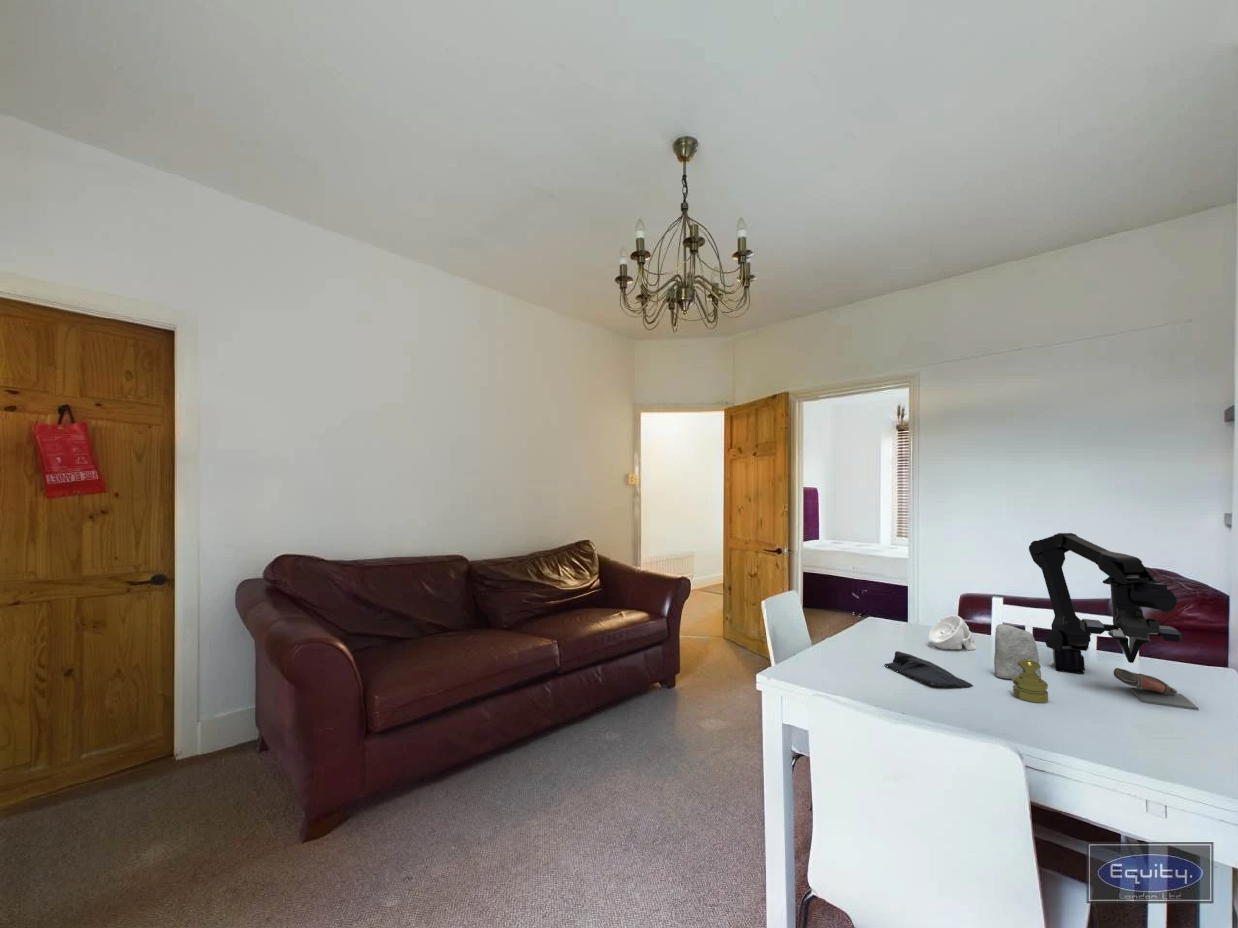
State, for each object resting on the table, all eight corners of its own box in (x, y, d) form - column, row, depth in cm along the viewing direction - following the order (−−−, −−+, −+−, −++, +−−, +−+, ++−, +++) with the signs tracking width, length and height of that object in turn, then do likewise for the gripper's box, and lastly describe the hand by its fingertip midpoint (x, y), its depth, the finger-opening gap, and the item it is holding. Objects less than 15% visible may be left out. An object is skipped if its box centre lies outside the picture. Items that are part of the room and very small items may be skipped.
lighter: (1115, 665, 143) (1154, 675, 142) (1112, 676, 143) (1151, 686, 142) (1140, 677, 135) (1182, 687, 134) (1136, 689, 135) (1179, 700, 134)
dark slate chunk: (926, 692, 142) (926, 674, 143) (880, 665, 164) (880, 650, 165) (978, 689, 144) (977, 672, 144) (926, 663, 166) (925, 648, 166)
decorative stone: (1037, 677, 151) (1034, 625, 152) (1044, 684, 145) (1040, 630, 146) (992, 672, 155) (989, 622, 156) (997, 679, 150) (994, 627, 151)
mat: (1142, 702, 132) (1142, 699, 132) (1129, 689, 141) (1129, 687, 141) (1198, 710, 127) (1198, 707, 127) (1181, 696, 136) (1181, 693, 136)
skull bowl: (990, 647, 176) (970, 617, 176) (959, 670, 174) (939, 640, 174) (967, 638, 186) (949, 610, 186) (937, 660, 185) (919, 632, 185)
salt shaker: (1040, 705, 131) (1037, 665, 132) (1007, 695, 138) (1005, 657, 138) (1054, 699, 135) (1052, 661, 135) (1021, 690, 141) (1019, 653, 142)
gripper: (1087, 605, 136) (1091, 665, 135) (1188, 613, 126) (1193, 677, 126) (1077, 598, 146) (1081, 654, 145) (1170, 604, 136) (1175, 664, 135)
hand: (1130, 662), depth 137 cm, fingers closed
